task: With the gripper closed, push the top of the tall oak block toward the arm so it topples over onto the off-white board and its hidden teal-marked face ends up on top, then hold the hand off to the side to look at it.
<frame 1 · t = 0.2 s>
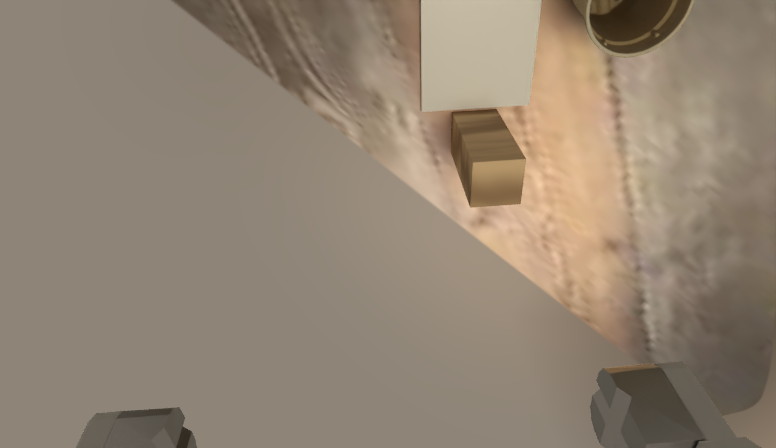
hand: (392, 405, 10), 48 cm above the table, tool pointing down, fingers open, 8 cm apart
white board: (478, 37, 53), on the table
oak block: (473, 131, 59), on the table
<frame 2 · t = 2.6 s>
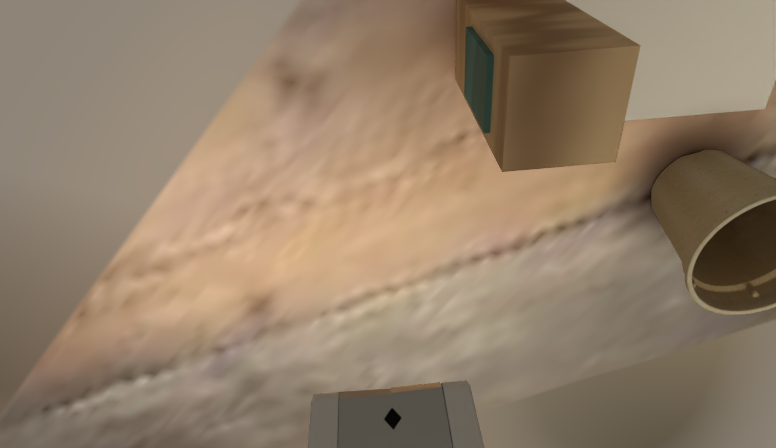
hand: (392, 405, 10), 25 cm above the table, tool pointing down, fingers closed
flower pot: (688, 184, 38), on the table
white board: (670, 21, 31), on the table
oak block: (497, 35, 31), on the table
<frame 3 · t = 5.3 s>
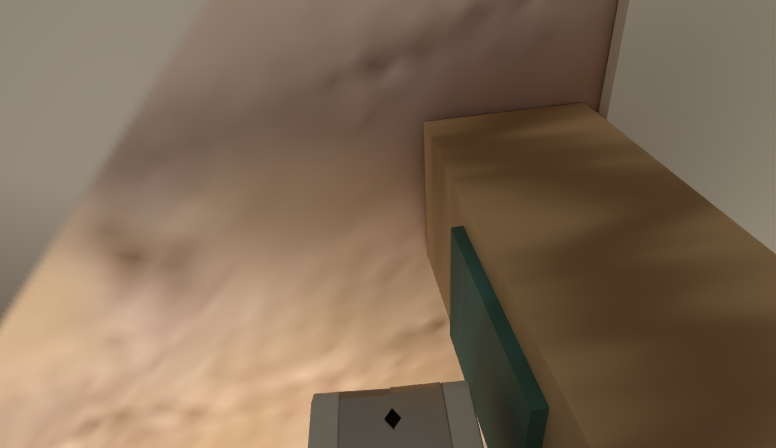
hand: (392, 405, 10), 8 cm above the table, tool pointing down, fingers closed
oak block: (499, 183, 17), on the table, touching gripper
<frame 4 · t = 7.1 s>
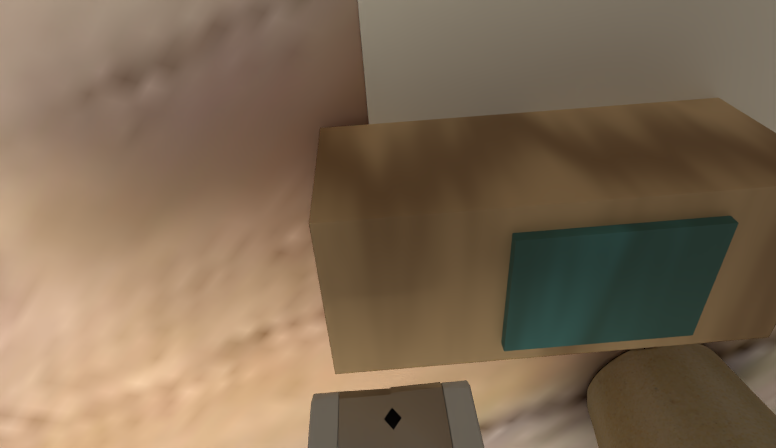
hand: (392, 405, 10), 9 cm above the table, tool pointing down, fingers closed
flower pot: (646, 379, 24), on the table
white board: (596, 166, 17), on the table
oak block: (327, 245, 15), point 3 cm above the table, tilted 90°, touching white board
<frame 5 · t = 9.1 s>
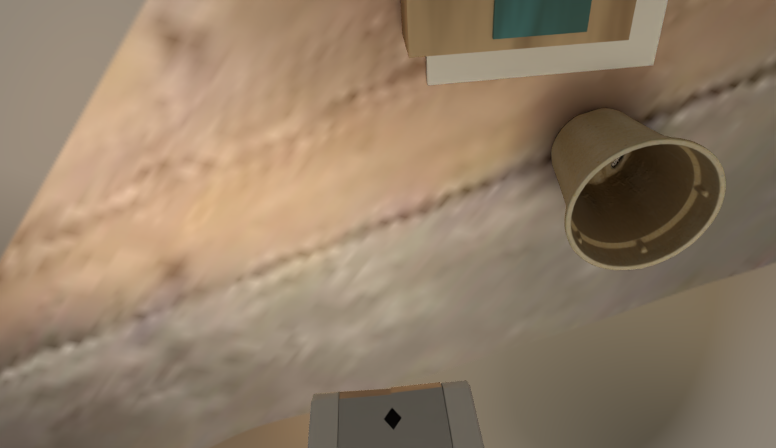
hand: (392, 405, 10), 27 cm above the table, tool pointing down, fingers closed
flower pot: (589, 145, 38), on the table
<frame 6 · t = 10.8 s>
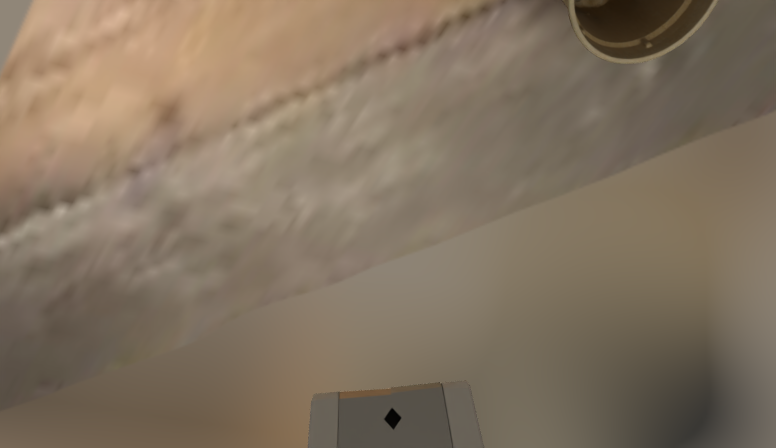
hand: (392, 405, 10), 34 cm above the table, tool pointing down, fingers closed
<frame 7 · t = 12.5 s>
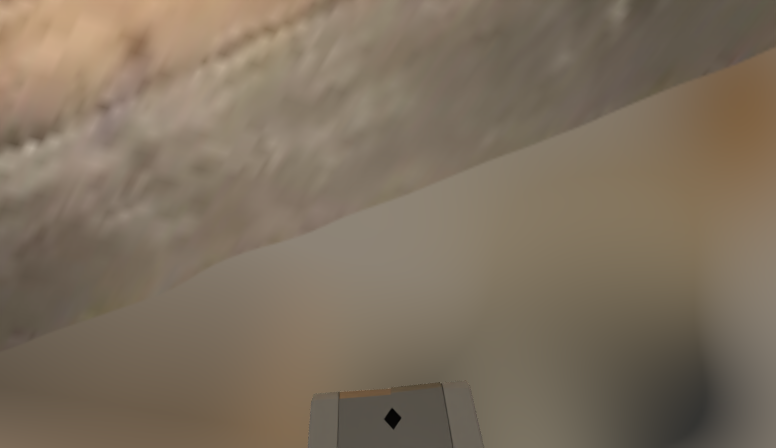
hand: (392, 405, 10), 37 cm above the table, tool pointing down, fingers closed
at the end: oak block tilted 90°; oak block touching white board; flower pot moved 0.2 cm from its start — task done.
